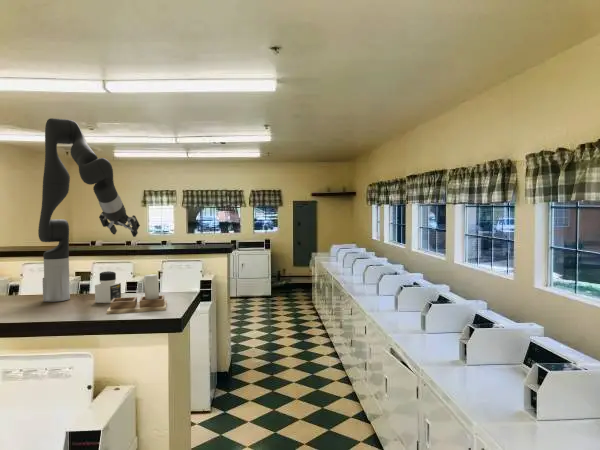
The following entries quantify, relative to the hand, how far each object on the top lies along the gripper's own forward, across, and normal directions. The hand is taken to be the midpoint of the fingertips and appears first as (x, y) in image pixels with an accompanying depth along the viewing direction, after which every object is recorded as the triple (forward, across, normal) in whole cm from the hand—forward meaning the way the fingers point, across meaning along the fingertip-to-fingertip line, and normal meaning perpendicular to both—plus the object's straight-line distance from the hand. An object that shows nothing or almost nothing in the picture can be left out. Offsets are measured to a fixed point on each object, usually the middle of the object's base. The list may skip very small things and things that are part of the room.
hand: (125, 234), depth 181 cm
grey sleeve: (+12, -17, +23) cm, 31 cm away
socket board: (+11, -13, +25) cm, 30 cm away
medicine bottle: (+22, +6, +19) cm, 29 cm away
